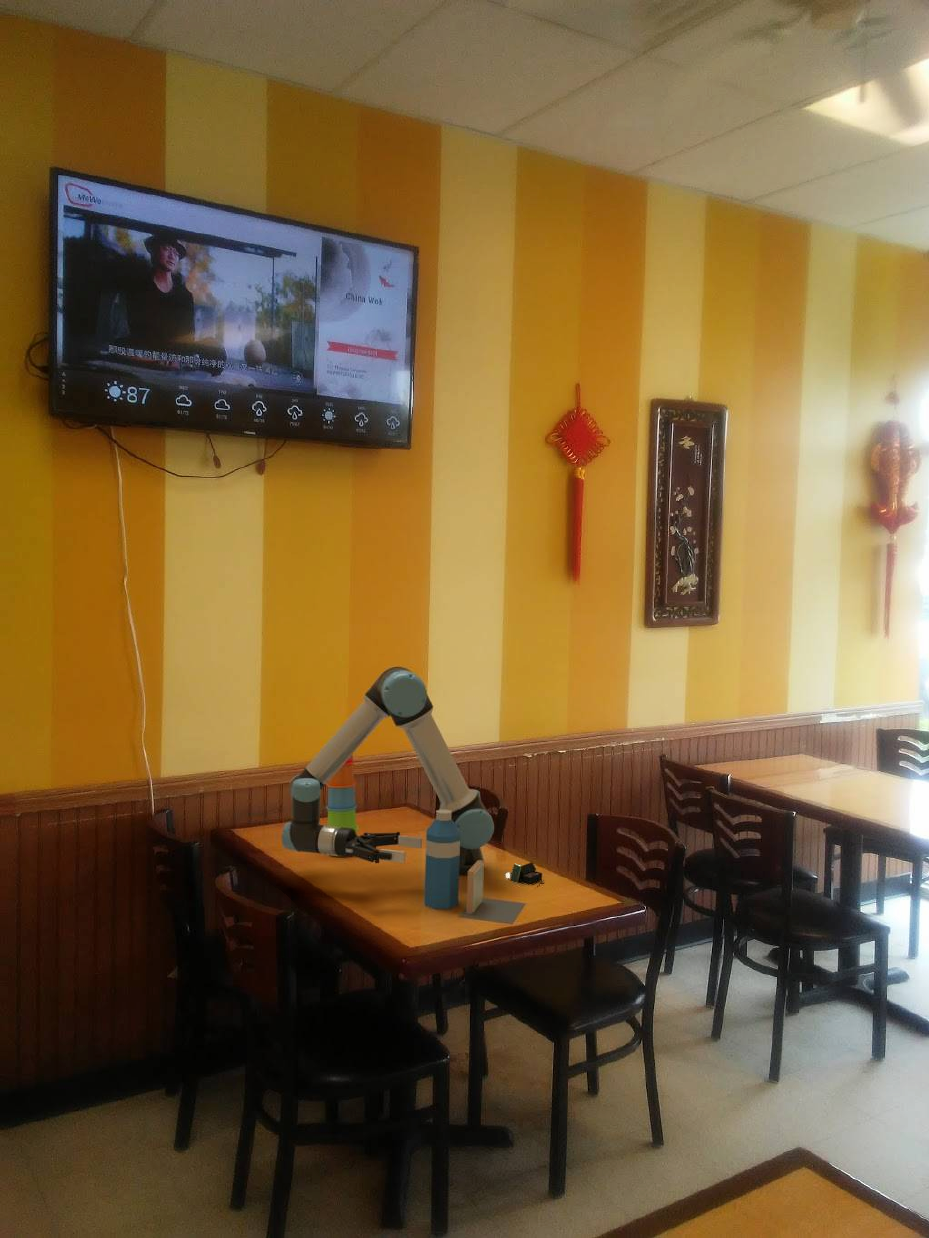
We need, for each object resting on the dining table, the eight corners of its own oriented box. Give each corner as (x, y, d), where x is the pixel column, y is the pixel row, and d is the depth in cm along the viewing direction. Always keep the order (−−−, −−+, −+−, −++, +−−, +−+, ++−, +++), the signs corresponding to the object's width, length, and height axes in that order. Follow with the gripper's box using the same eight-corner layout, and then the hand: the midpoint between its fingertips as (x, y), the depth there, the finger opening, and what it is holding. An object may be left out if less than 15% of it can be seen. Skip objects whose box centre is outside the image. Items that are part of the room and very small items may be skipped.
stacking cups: (328, 858, 305) (331, 743, 303) (322, 848, 315) (324, 737, 312) (362, 856, 308) (365, 742, 306) (355, 846, 318) (358, 736, 316)
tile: (476, 901, 270) (478, 860, 269) (483, 901, 269) (484, 860, 269) (466, 913, 260) (467, 871, 260) (472, 914, 260) (474, 871, 259)
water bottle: (418, 908, 264) (420, 813, 263) (430, 897, 273) (433, 805, 272) (452, 913, 262) (455, 817, 260) (463, 902, 270) (466, 809, 269)
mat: (474, 899, 273) (475, 896, 273) (526, 905, 269) (526, 903, 269) (458, 919, 258) (458, 916, 258) (512, 926, 254) (512, 923, 254)
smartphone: (522, 870, 301) (522, 851, 301) (564, 881, 292) (565, 862, 291) (491, 881, 290) (491, 862, 289) (534, 894, 280) (534, 874, 280)
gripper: (355, 842, 286) (427, 851, 281) (318, 868, 263) (396, 878, 257) (356, 816, 286) (428, 824, 280) (319, 839, 262) (397, 848, 256)
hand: (413, 850), depth 268 cm, fingers open, 13 cm apart
